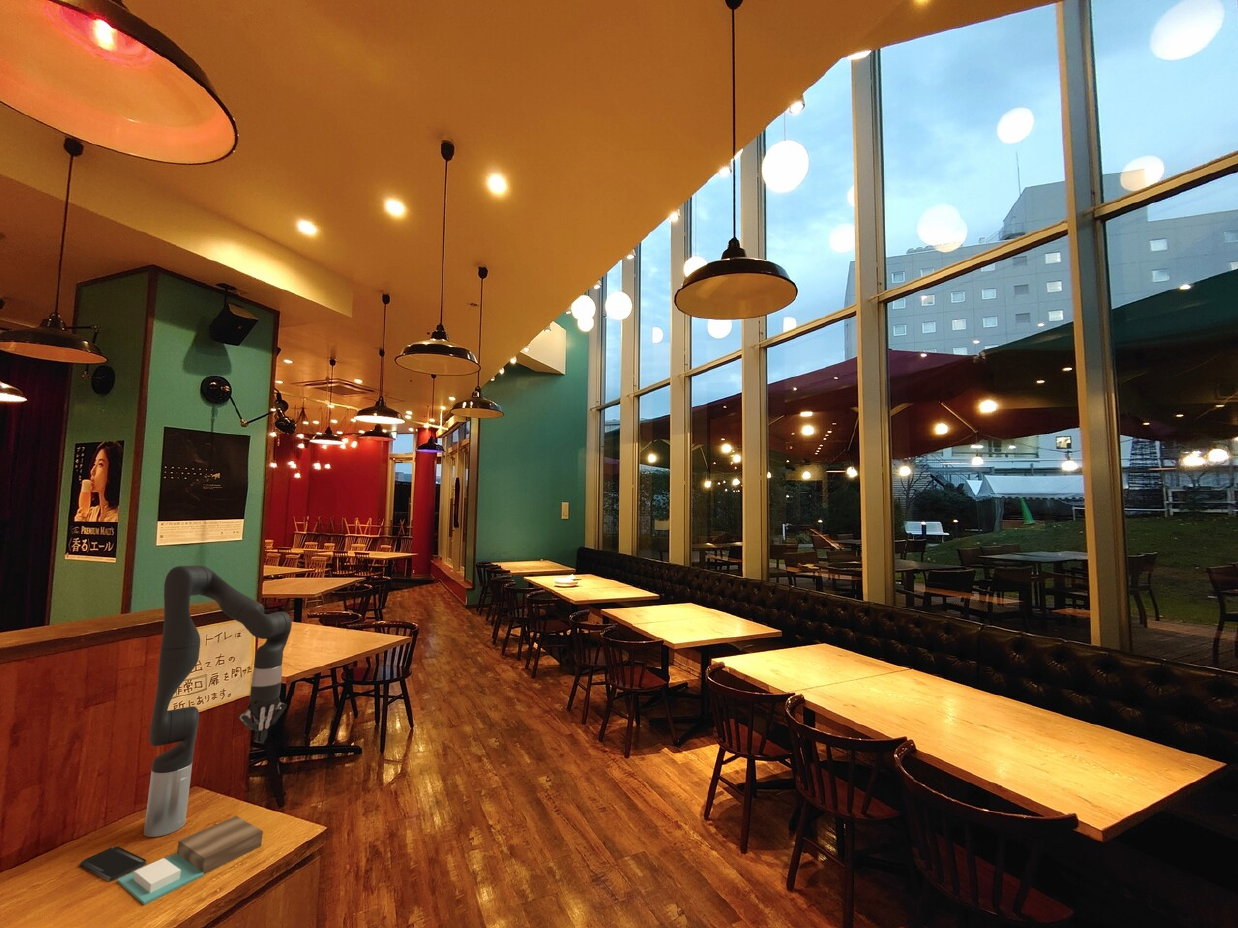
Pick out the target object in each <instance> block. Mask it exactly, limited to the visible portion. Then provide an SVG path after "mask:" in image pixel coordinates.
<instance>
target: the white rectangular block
mask: <svg viewBox="0 0 1238 928" xmlns="http://www.w3.org/2000/svg"><path fill="white" fill-rule="evenodd" d="M165 858H166V857H163V858H161V859H158V860H156V861H154V862H152V863H149V864H146V865H145V866H143V867H141V868H139V869H137V870H135V871H133V872H134V878H133V880H134V881H136V882H137V883H138V884H139V885H141V886H142V887H143V888H144V889H146V890H147V891H148V892H149V893H151V892H153V891H155V890H157V889H159V888H162V887H164V886H166V885H168V884H170V883H172V882H174V881H176V880H178V879H180V874H181V870H180V869H179V868H177V867H176V866H175V865H173V864H172V863H170V862H169V861H168V860H166V859H165Z"/></svg>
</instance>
